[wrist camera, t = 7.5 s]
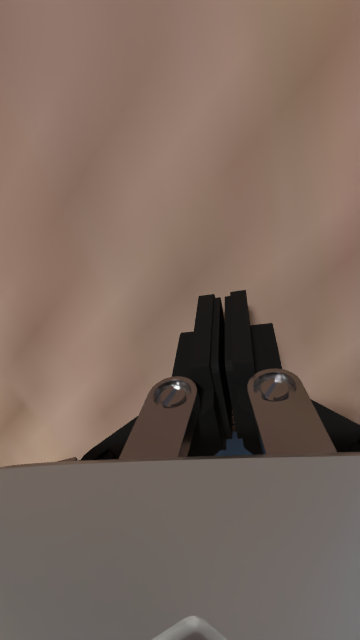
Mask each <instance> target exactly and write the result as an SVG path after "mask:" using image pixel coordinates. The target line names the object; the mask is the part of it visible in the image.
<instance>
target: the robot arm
mask: <svg viewBox="0 0 360 640" xmlns="http://www.w3.org/2000/svg"><path fill="white" fill-rule="evenodd" d="M230 295H231V296H227V297H225V321H224V315H223V309H222V303H221V298H220V297H219V298H215V295H214V294H211V295H204V296H199V298H198V306H197V313H196V320H195V327H194V332H185V333H181V334H180V338H179V343H178V348H177V353H176V358H175V363H174V368H173V373H172V377H170V378H166V379H164V380H162V381H160V382H158V383H157V384H156V385H154V386H153V387H152V389H151V390H150V392H149V394H148V396H147V398H146V400H145V402H144V405H143V407H142V409H141V411H140V413H139V416H137V417H136V418H135V419H133V420H132V421H130V422H129V423H127V424H126V425H125V426H123V427H122V428H120V429H119V430H118V431H116V432H115V433H113V434H112V435H111V436H109V437H108V438H106V439H105V440H104V441H102V442H101V443H99V444H98V445H97V446H95V447H94V448H92V449H91V450H90V451H89V452H87V453H86V454H85V455H84V456H83V458H82V459H81V460H77V458H76V457H73V458H69V459H65V460H61V461H57V462H47V463H33V464H21V465H12V466H5V467H0V640H360V425H358V424H356V423H354V422H353V421H351V420H349V419H347V418H345V417H343V416H341V415H339V414H337V413H336V412H334V411H332V410H330V409H328V408H326V407H324V406H322V405H320V404H318V403H317V402H315V401H313V400H311V399H310V398H309V396H308V394H307V392H306V390H305V388H304V386H303V384H302V382H301V380H300V379H299V378H298V377H297V376H296V375H295V374H293V373H292V372H289V371H287V370H284V369H282V366H281V362H280V357H279V352H278V347H277V343H276V338H275V333H274V328H273V324H272V323H269V324H259V325H250V322H249V313H248V305H247V296H246V290H242V291H235V292H230ZM232 410H233V415H234V421H235V427H236V432H237V438H238V439H243V445H244V448H245V449H246V450H248V451H249V452H250V453H252V454H253V455H229V456H214V455H216V454H217V453H218V452H219V451H220V450H226V439H232V438H233V431H232Z"/></svg>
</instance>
